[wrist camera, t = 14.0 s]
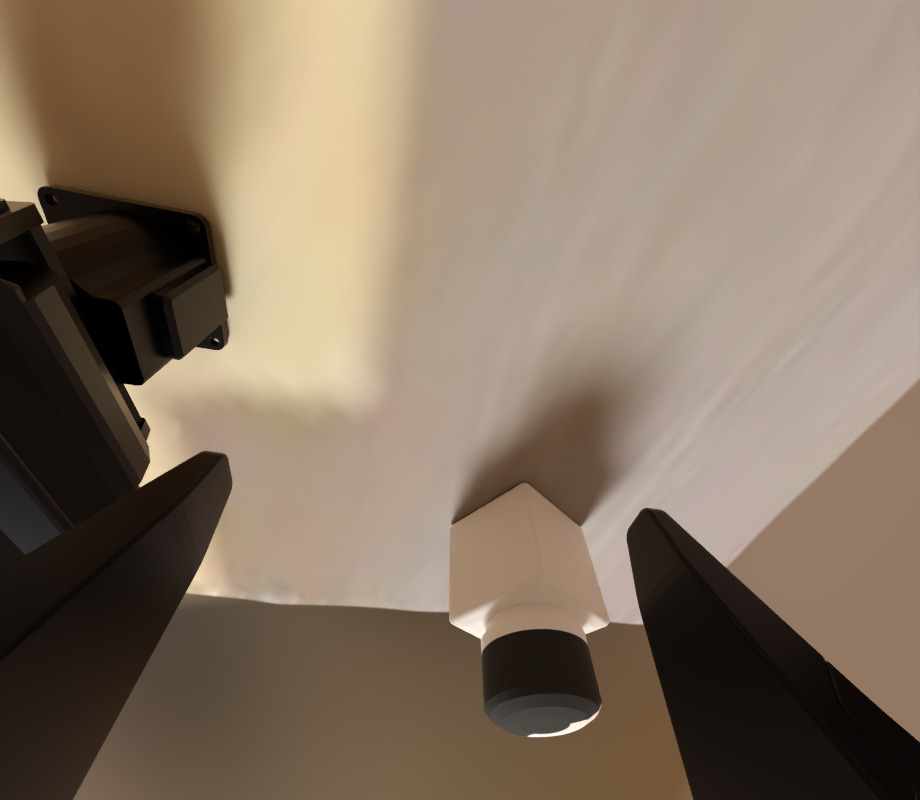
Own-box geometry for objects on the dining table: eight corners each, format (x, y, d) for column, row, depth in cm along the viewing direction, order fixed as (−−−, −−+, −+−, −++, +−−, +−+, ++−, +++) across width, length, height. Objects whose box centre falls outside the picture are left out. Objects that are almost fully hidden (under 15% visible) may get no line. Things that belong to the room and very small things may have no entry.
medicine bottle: (448, 524, 30) (444, 725, 20) (524, 478, 27) (564, 684, 17) (508, 565, 33) (531, 756, 23) (582, 527, 30) (644, 725, 20)
